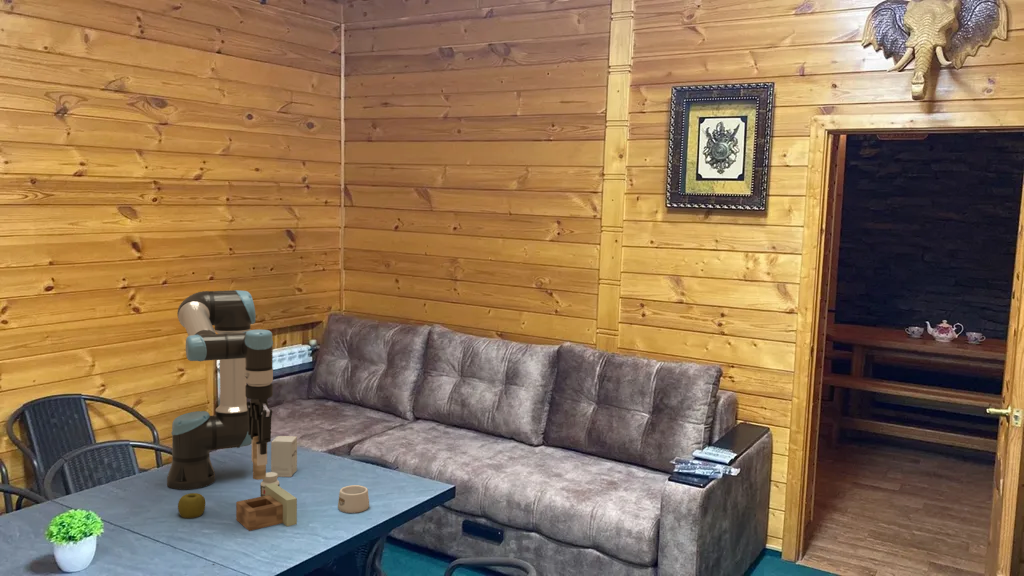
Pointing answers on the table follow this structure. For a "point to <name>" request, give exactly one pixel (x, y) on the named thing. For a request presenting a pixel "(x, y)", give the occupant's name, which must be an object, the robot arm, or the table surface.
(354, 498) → the beige pet bowl
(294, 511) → the board wall
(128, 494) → the table surface
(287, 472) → the supplement box
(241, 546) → the table surface
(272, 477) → the pill bottle
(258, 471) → the dowel
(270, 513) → the block
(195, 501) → the apple
